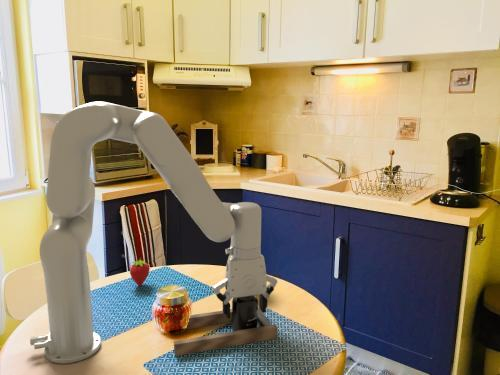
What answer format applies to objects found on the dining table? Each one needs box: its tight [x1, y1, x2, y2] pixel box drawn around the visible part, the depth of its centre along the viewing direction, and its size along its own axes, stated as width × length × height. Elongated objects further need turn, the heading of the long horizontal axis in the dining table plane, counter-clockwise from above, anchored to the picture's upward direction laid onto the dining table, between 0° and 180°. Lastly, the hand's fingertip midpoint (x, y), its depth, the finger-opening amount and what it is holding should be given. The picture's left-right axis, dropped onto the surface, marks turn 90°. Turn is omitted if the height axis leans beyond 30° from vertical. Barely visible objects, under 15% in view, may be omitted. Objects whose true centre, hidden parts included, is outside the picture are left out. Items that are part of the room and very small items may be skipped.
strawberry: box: [129, 258, 150, 287], centre depth 136 cm, size 6×8×10 cm
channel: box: [173, 304, 278, 357], centre depth 110 cm, size 26×12×3 cm, turn 108°
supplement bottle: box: [230, 295, 259, 332], centre depth 111 cm, size 7×7×12 cm
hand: (245, 313), depth 111 cm, fingers open, 9 cm apart
